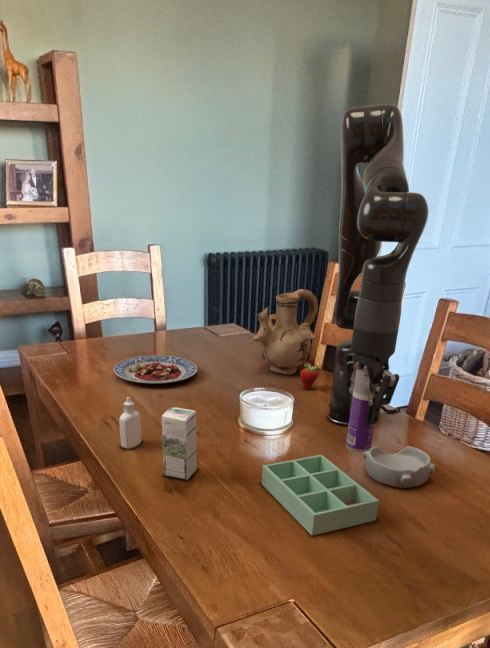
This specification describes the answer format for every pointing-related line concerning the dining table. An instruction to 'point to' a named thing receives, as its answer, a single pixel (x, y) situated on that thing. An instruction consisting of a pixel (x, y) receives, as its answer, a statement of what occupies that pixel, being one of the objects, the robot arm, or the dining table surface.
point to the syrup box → (179, 442)
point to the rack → (319, 494)
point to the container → (360, 417)
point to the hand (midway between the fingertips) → (362, 417)
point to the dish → (399, 466)
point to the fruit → (308, 376)
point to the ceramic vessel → (286, 333)
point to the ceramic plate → (155, 369)
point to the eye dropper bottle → (130, 426)
